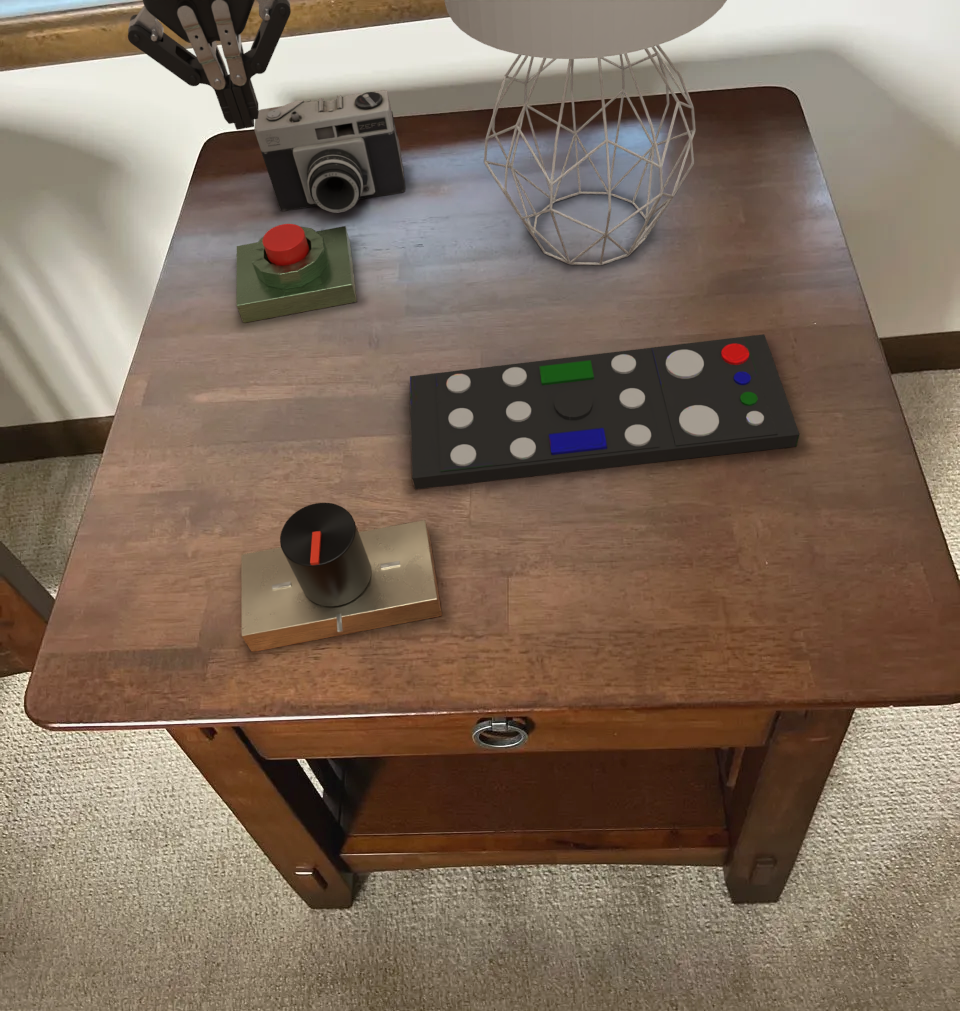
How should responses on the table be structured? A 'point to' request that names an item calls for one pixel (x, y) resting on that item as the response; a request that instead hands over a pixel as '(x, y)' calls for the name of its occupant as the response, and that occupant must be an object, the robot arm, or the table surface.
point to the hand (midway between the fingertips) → (245, 123)
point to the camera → (331, 151)
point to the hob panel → (385, 602)
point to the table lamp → (572, 35)
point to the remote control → (598, 412)
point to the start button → (285, 244)
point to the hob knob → (326, 554)
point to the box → (295, 277)
